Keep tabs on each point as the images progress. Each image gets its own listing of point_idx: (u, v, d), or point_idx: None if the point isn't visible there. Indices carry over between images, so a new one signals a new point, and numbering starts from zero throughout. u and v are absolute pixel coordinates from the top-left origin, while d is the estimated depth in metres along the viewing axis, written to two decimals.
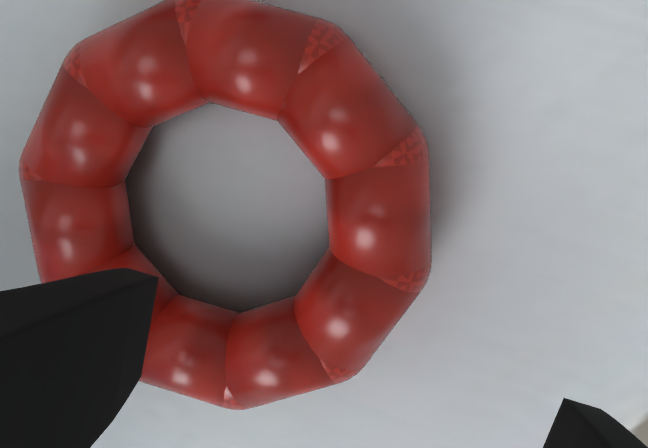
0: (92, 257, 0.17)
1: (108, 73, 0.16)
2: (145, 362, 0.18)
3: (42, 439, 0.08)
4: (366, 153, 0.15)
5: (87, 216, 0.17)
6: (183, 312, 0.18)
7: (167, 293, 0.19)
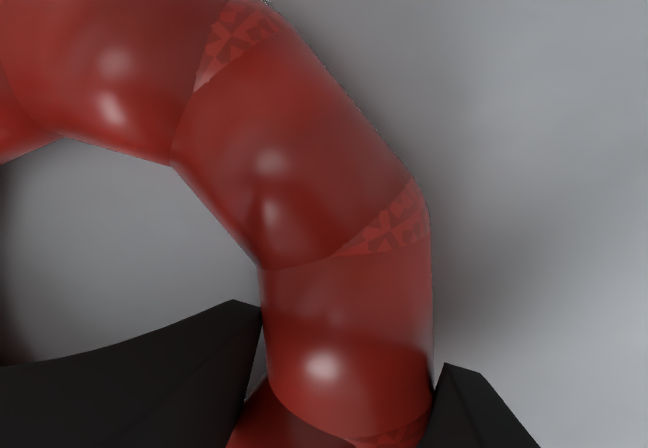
0: None
1: None
2: None
3: None
4: (318, 231, 0.09)
5: None
6: None
7: None
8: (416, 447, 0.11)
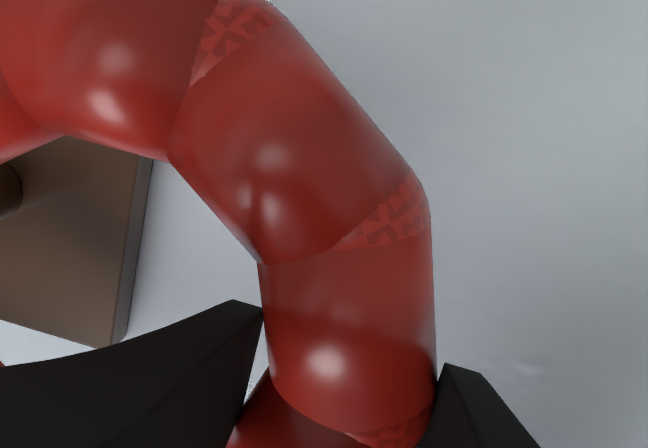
0: None
1: None
2: None
3: None
4: (317, 225, 0.09)
5: None
6: None
7: None
8: (416, 447, 0.11)
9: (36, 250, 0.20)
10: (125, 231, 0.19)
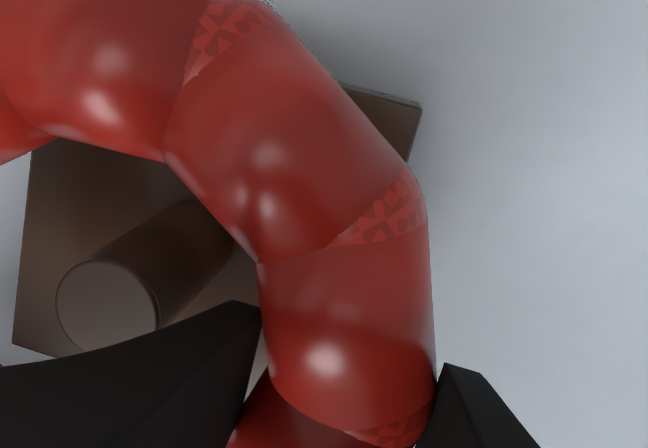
0: None
1: None
2: None
3: None
4: (313, 223, 0.09)
5: None
6: None
7: None
8: (416, 447, 0.11)
9: None
10: None
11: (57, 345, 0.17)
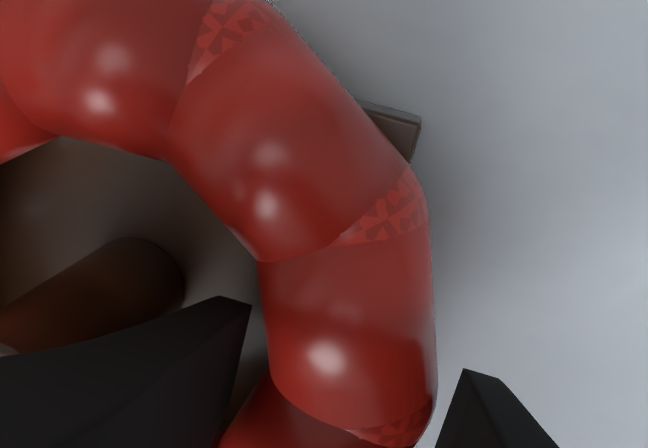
0: None
1: None
2: None
3: None
4: (315, 221, 0.09)
5: None
6: None
7: None
8: None
9: None
10: None
11: None
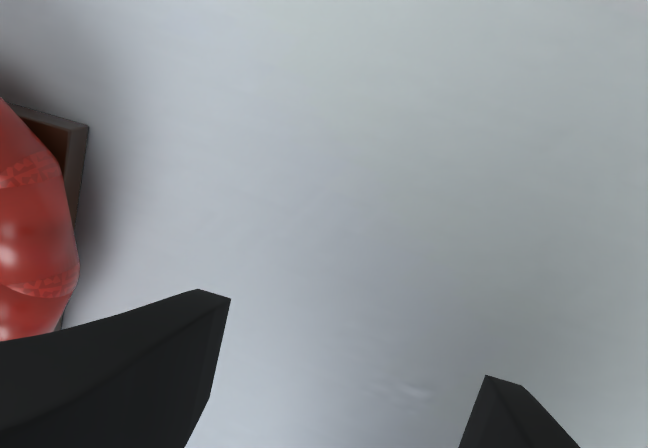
0: None
1: None
2: None
3: None
4: None
5: None
6: None
7: None
8: None
9: None
10: None
11: None
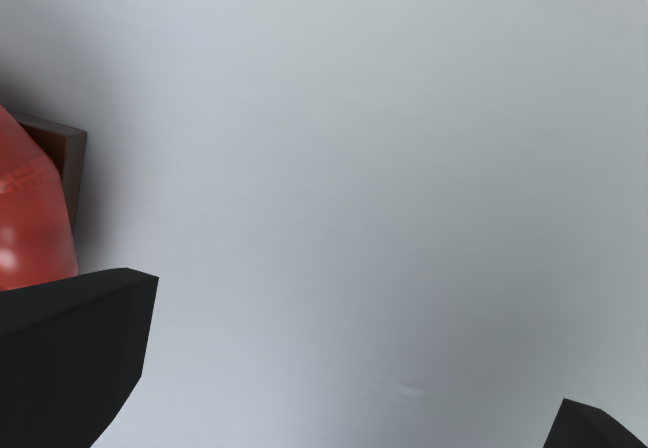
0: None
1: None
2: None
3: (42, 439, 0.08)
4: None
5: None
6: None
7: None
8: None
9: None
10: None
11: None
